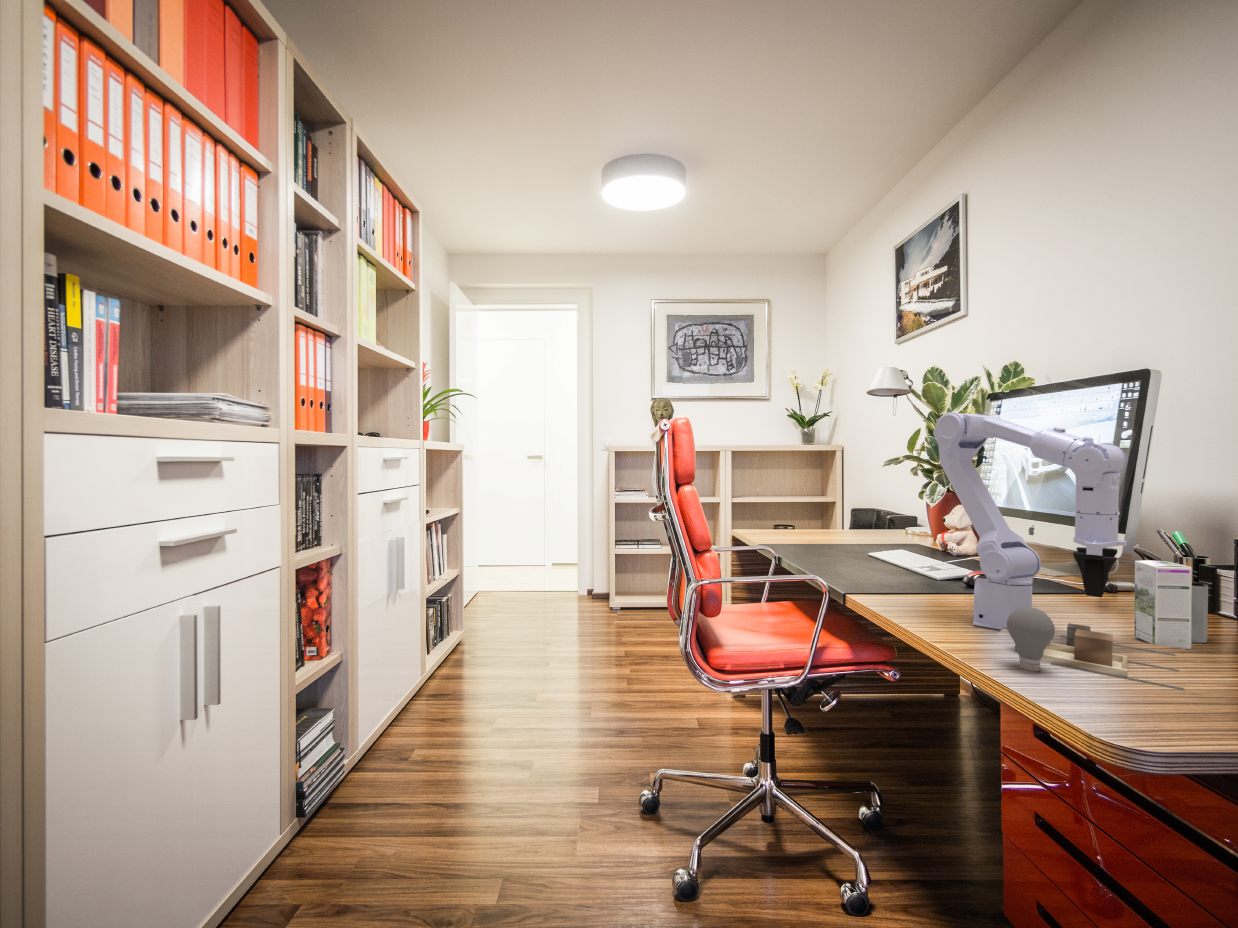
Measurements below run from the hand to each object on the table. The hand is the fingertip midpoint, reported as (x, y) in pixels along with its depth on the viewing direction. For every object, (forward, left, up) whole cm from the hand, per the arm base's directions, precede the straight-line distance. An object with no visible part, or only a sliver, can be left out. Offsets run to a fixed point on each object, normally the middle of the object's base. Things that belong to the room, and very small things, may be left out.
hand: (1094, 592), depth 100 cm
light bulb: (-7, -21, -10) cm, 24 cm away
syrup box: (+9, +13, -10) cm, 19 cm away
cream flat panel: (+3, -2, -10) cm, 11 cm away
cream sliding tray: (-3, -12, -10) cm, 16 cm away
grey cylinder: (+13, +20, -10) cm, 26 cm away
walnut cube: (0, -12, -9) cm, 15 cm away
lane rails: (+3, -7, -10) cm, 12 cm away
